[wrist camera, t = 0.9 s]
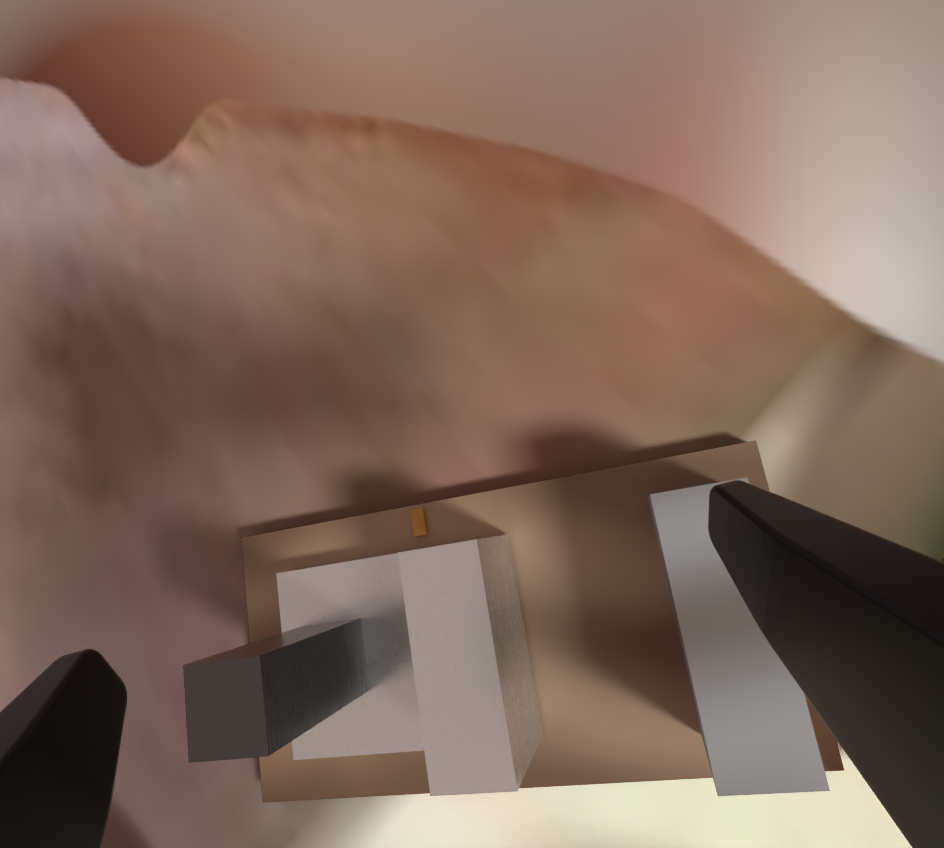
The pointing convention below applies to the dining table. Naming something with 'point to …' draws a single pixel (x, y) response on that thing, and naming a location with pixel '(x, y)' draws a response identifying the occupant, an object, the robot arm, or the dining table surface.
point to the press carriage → (383, 670)
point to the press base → (591, 634)
